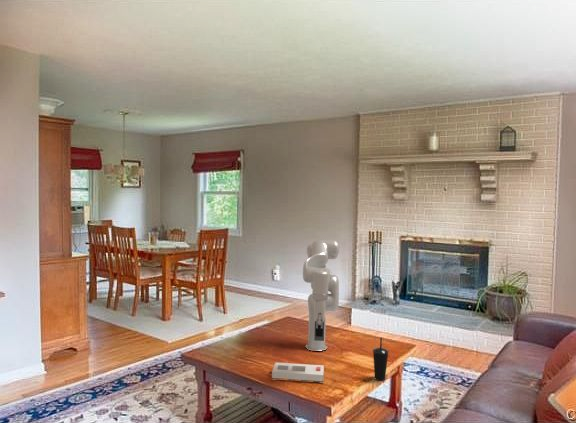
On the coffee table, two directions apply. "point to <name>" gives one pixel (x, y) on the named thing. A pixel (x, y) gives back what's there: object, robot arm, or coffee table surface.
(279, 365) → the power strip
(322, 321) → the plug
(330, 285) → the robot arm
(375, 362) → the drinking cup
